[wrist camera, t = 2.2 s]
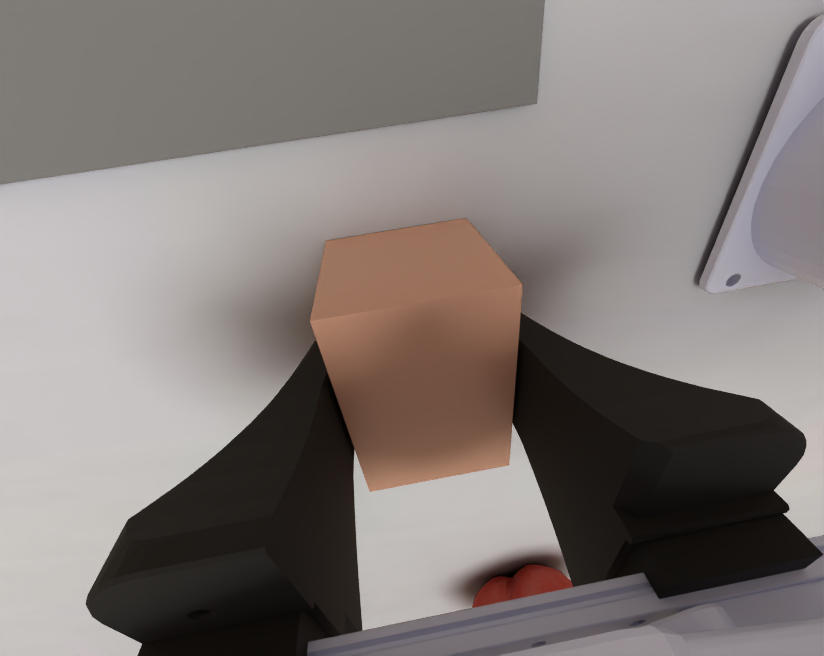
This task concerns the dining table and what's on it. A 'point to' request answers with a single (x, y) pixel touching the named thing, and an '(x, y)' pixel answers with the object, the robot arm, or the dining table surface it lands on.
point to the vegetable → (522, 585)
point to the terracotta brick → (420, 349)
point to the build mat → (244, 73)
